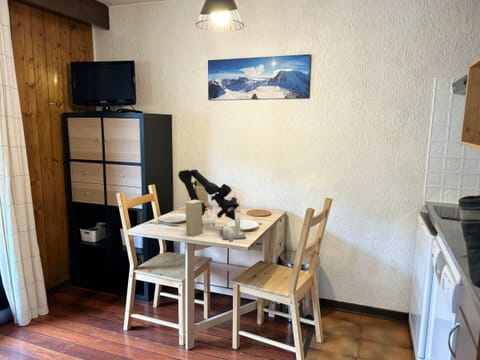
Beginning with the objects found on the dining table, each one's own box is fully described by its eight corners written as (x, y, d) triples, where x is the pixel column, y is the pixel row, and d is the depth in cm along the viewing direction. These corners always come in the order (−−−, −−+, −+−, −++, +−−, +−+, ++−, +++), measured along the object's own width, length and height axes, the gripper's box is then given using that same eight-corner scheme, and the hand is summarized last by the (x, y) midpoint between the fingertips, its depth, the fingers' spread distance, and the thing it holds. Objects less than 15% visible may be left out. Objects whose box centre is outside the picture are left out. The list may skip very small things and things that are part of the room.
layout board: (219, 231, 224) (219, 229, 224) (241, 229, 226) (241, 228, 226) (223, 240, 208) (223, 238, 208) (246, 238, 210) (246, 236, 210)
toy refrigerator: (194, 230, 225) (193, 199, 221) (202, 233, 220) (202, 201, 217) (185, 234, 219) (184, 201, 215) (193, 236, 214) (192, 203, 210)
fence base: (222, 236, 214) (222, 225, 213) (227, 235, 216) (227, 224, 214) (228, 242, 205) (228, 229, 204) (234, 241, 207) (234, 229, 205)
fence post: (230, 234, 213) (230, 211, 210) (227, 233, 216) (227, 210, 213) (241, 231, 218) (241, 209, 216) (237, 230, 221) (237, 208, 218)
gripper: (220, 197, 210) (236, 217, 207) (236, 190, 226) (251, 209, 223) (210, 208, 216) (225, 228, 213) (226, 200, 231) (241, 219, 228)
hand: (236, 220), depth 219 cm, fingers closed, pressing on fence post
